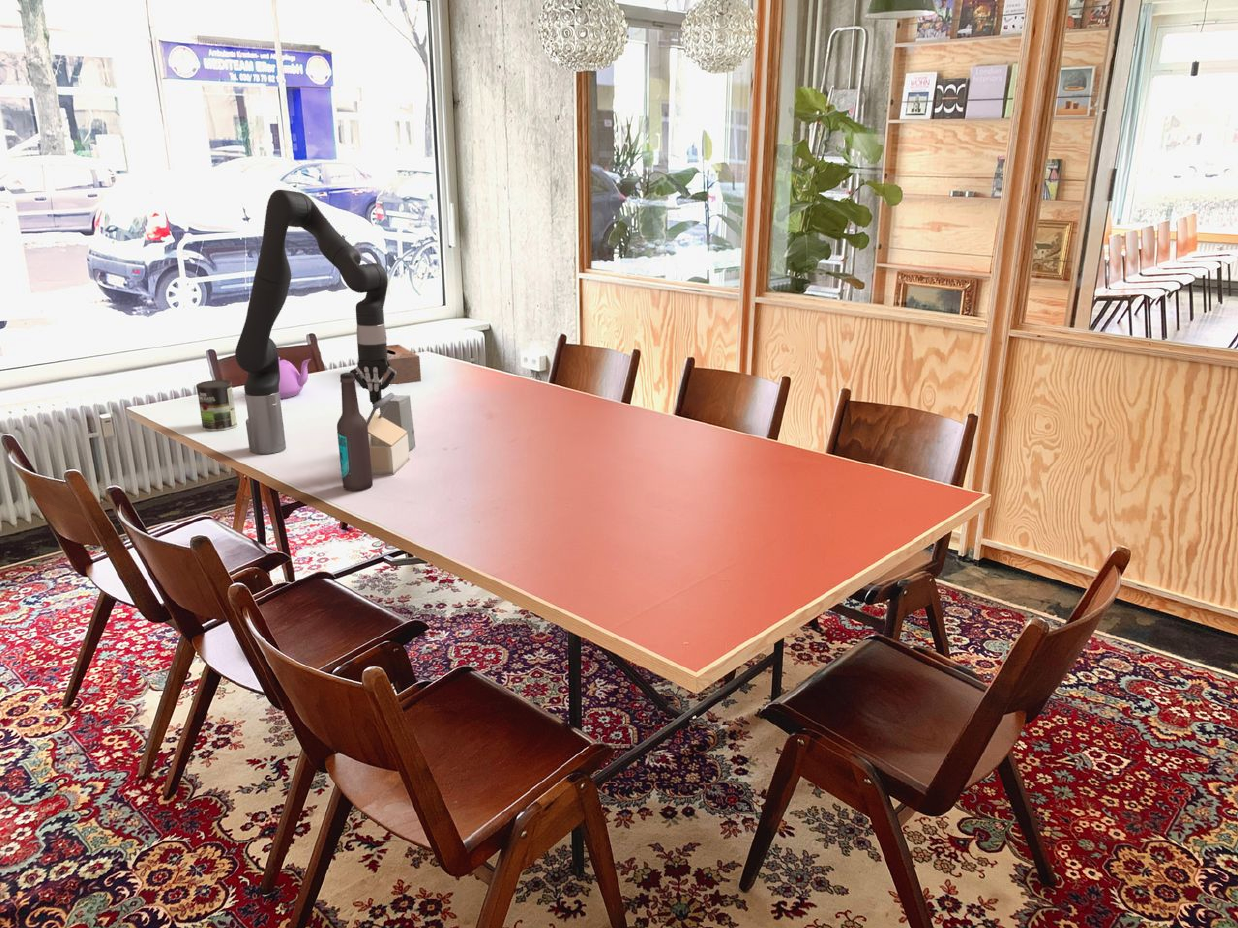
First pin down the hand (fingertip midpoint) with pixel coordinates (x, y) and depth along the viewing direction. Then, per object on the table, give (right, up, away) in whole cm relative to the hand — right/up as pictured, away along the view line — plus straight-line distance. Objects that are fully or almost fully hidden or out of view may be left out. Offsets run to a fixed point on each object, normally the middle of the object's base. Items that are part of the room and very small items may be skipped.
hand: (376, 403), depth 251 cm
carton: (0, -17, +6) cm, 18 cm away
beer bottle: (-2, -22, -10) cm, 24 cm away
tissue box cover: (-22, +17, +109) cm, 112 cm away
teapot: (-54, +8, +82) cm, 98 cm away
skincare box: (+2, -12, +20) cm, 24 cm away
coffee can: (-61, -5, +43) cm, 75 cm away
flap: (+1, -7, +2) cm, 7 cm away
